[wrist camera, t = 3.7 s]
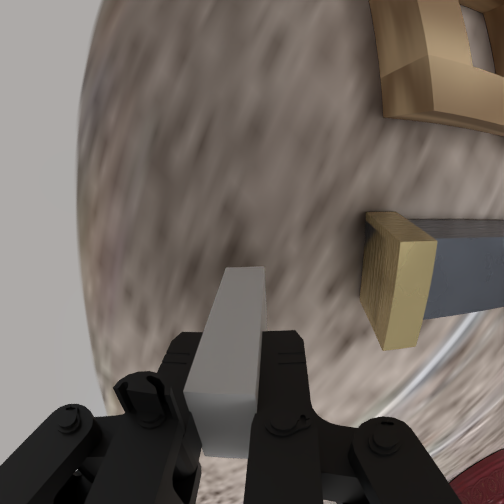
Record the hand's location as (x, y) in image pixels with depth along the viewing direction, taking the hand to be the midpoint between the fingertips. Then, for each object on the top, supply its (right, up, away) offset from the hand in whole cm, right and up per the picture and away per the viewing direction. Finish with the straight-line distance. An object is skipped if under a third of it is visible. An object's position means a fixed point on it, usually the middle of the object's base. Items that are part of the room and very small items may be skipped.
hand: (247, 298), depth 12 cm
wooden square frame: (+11, +13, -2) cm, 17 cm away
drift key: (+12, +2, +2) cm, 12 cm away
